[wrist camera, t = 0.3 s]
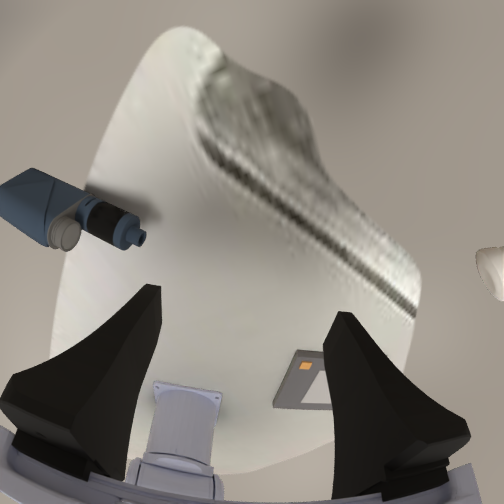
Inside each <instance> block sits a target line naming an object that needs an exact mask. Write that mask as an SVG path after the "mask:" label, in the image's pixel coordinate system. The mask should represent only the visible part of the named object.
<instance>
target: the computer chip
mask: <svg viewBox="0 0 504 504" xmlns="http://www.w3.org/2000/svg"><path fill="white" fill-rule="evenodd" d="M273 408H283V409H302V410H333V409H332V404H331V398H330V393H329V388H328V383H327V378H326V372H325V367H324V355H323V352H312V351H301V350H297V351H296V354H295V356H294V358H293V360H292V362H291V365H290V367H289V369H288V371H287V373H286V376H285V378H284V380H283V382H282V384H281V386H280V388H279V390H278V393H277V395H276V397H275V399H274V401H273Z"/></svg>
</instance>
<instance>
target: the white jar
mask: <svg viewBox="0 0 504 504" xmlns="http://www.w3.org/2000/svg"><path fill="white" fill-rule="evenodd" d="M476 264H477V268H478V271H479V274H480V277H481V278H482V281H483V283H484V284H485V286H486V288H487V289H488V290H489V292H490V293H491V294H492V295H493V296H494V297H495V298H497V299H498V300H500V301H504V246H502V247H500V248H497V247H492V248H484V249H481V250H479V251H477V252H476Z"/></svg>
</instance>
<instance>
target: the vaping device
mask: <svg viewBox="0 0 504 504" xmlns="http://www.w3.org/2000/svg"><path fill="white" fill-rule="evenodd" d="M124 211H125V210H124ZM124 211H123V210H122V209H120V208H118V207H116V206H114V205H111V204H109V203H107V202H105V201H103V200H100V199H98V198H96V197H95V196H94V195H93V194H90V193H87V192H85V191H83V190H81V189H79V188H76V187H74V186H72V185H70V184H68V183H65V182H63V181H61V180H59V179H57V178H55V177H52V176H50V175H48V174H46V173H44V172H42V171H39V170H37V169H35V168H30V169H28V170H26V171H24V172H23V173H21V174H19V175H17V176H16V177H14V178H12V179H10V180H9V181H7V182H5V183H3V184H2V185H1V186H0V216H1V217H2V218H3V219H5V220H6V221H8V222H9V223H10V224H12V225H13V226H14V227H16V228H17V229H19V230H20V231H21V232H23V233H25V234H26V235H27V236H29V237H30V238H32V239H33V240H35V241H36V242H38V243H39V244H41V245H43V246H45V247H49V246H50V247H51V248H53V249H58V248H60V249H61V250H63V251H65V252H68V251H70V250H72V249H73V248H74V247H75V246H76V244H77V243H78V241H79V238H80V235H81V230H82V229H83V230H84V231H86V232H88V233H90V234H92V235H94V236H96V237H98V238H100V239H101V240H103V241H105V242H107V243H109V244H111V245H113V246H115V247H117V248H119V249H121V250H127V249H128V248H129V247H130V246H131V245H132V244H134V245H136V246H138V247H140V246H142V244H143V243H144V241H145V239H146V231H144V230H142V229H139V228H140V219H139V217H138V216H136V215H133V214H131V213H129V212H127V211H126V212H124Z"/></svg>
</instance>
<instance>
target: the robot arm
mask: <svg viewBox="0 0 504 504" xmlns="http://www.w3.org/2000/svg"><path fill="white" fill-rule="evenodd" d="M161 325H162V307H161V286H157V285H151V284H145V285H144V286H143V287H142V288H141V289H140V290H139V291H138V292H137V293H136V294H135V295H134V296H133V297H132V298H131V299H130V300H129V301H128V302H127V303H126V304H125V305H124V306H123V307H122V308H121V309H120V310H119V311H118V312H116V313H115V314H114V315H113V316H112V317H111V318H110V319H109V320H107V321H106V322H105V323H104V324H103V325H102V326H100V327H99V328H98V329H97V330H95V331H94V332H93V333H92V334H90V335H89V336H88V337H86V338H85V339H83V340H82V341H80V342H79V343H77V344H76V345H74V346H73V347H71V348H70V349H68V350H66V351H65V352H63V353H61V354H59V355H58V356H56V357H54V358H52V359H50V360H48V361H46V362H43V363H42V364H39V365H37V366H34V367H32V368H29V369H27V370H24V371H21V372H19V373H16V374H13V375H12V377H11V378H10V380H9V382H8V383H7V385H6V388H5V389H4V391H3V393H2V395H1V397H0V409H1V410H2V412H3V413H4V414H5V415H6V417H8V419H9V420H10V421H11V422H12V423H13V424H14V425H15V426H16V427H17V432H16V434H14V433H12V432H11V431H9V430H8V429H6V428H5V427H3V426H1V425H0V492H2V493H3V494H5V495H6V496H8V497H10V498H11V499H13V500H14V501H16V502H18V503H19V504H482V501H481V497H480V493H479V489H478V486H477V482H476V478H475V475H474V472H473V468H472V464H471V463H468V464H465V465H463V466H460V467H457V468H454V469H452V470H450V471H448V472H447V470H446V466H448V465H449V459H448V457H450V456H451V455H452V454H454V453H455V452H456V451H458V450H459V449H460V448H462V447H463V446H464V445H466V443H467V442H468V441H469V440H470V438H471V434H470V431H469V428H468V426H467V423H466V421H465V419H463V418H462V417H460V416H458V415H456V414H454V413H453V412H451V411H449V410H447V409H446V408H444V407H443V406H441V405H440V404H438V403H437V402H435V401H434V400H433V399H431V398H430V397H429V396H427V395H426V394H425V393H424V392H422V391H421V390H420V389H419V388H418V387H416V386H415V385H414V384H413V383H412V382H411V381H410V380H409V379H408V378H407V377H406V376H404V374H403V373H402V372H401V371H400V370H399V369H398V368H397V367H396V366H395V365H394V364H393V363H392V362H391V361H390V359H389V358H388V357H387V356H386V355H385V354H384V353H383V351H382V350H381V349H380V348H379V346H378V345H377V344H376V343H375V341H374V340H373V339H372V338H371V336H370V335H369V334H368V332H367V331H366V330H365V329H364V327H363V326H362V325H361V323H360V322H359V321H358V320H357V318H356V317H355V316H354V315H353V314H352V313H351V312H341V311H338V313H337V315H336V318H335V320H334V322H333V324H332V326H331V328H330V331H329V333H328V335H327V337H326V339H325V341H324V343H323V355H324V367H325V372H326V378H327V383H328V388H329V393H330V398H331V404H332V409H333V417H334V434H335V465H334V481H333V492H332V498H331V500H324V501H311V502H294V503H293V502H289V503H258V502H238V501H225V500H224V485H223V481H222V480H221V479H220V477H219V476H218V475H217V474H213V470H214V467H211V466H210V463H211V452H212V442H213V432H214V427H215V426H216V422H217V417H218V413H219V408H220V403H221V399H222V393H221V392H218V391H211V390H205V389H198V388H192V387H187V386H181V385H176V384H171V383H166V382H161V381H154V382H153V388H154V395H155V402H156V408H155V412H154V417H153V421H152V425H151V430H150V434H149V439H148V443H147V448H146V452H144V454H143V459H141V458H139V457H136V458H135V459H133V460H131V462H130V464H129V468H128V472H127V476H126V480H125V482H122V481H123V480H124V479H125V470H126V461H127V453H128V446H129V440H130V434H131V428H132V423H133V418H134V413H135V408H136V404H137V399H138V395H139V392H140V389H141V386H142V383H143V380H144V378H145V375H146V372H147V369H148V367H149V364H150V361H151V359H152V356H153V353H154V351H155V348H156V345H157V341H158V337H159V333H160V329H161Z"/></svg>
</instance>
